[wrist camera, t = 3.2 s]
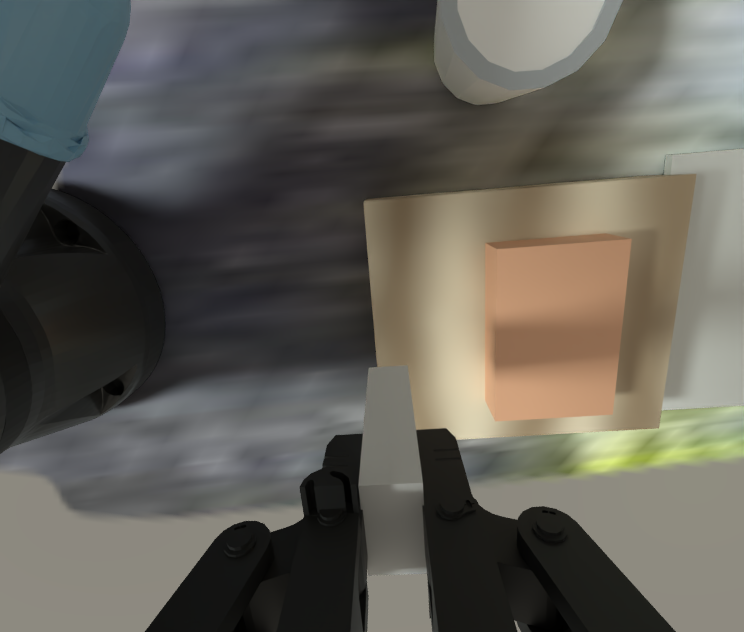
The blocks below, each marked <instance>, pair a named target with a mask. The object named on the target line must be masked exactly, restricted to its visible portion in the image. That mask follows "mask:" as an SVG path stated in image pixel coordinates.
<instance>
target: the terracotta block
mask: <svg viewBox="0 0 744 632" xmlns="http://www.w3.org/2000/svg"><path fill="white" fill-rule="evenodd" d="M631 242H632V239H630V238H625V237H621V236H616V235H611V234H607V233H605V234H592V235H579V236H567V237H554V238H541V239H528V240H515V241H503V242H490V243H485V401H486V403H487V406H488V408H489V410H490V412H491V414H492V416H493V418H494V420H495V421H513V420H530V419H547V418H564V417H581V416H598V415H613V408H614V399H615V389H616V380H617V371H618V362H619V352H620V343H621V334H622V325H623V315H624V306H625V297H626V288H627V278H628V269H629V260H630V251H631Z"/></svg>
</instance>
